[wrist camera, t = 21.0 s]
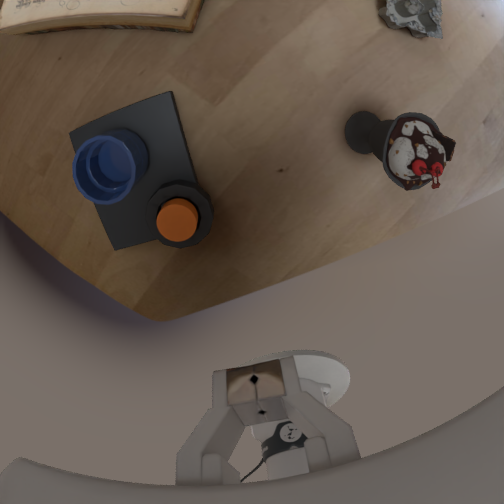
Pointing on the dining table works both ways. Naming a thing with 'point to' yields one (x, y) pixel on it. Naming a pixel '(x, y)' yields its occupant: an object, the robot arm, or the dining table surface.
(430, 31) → the egg carton
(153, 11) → the book
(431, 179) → the sundae
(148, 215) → the scale
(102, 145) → the cup
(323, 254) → the dining table surface
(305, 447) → the robot arm
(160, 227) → the button
